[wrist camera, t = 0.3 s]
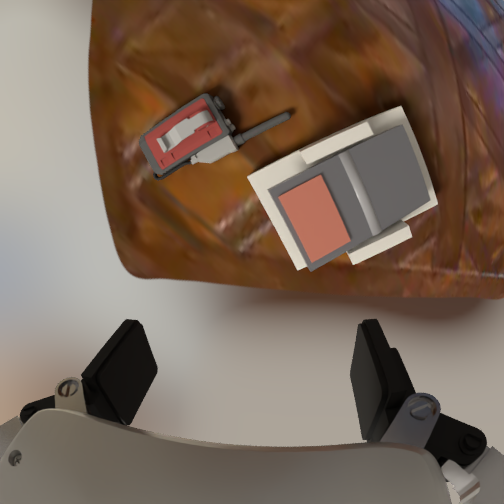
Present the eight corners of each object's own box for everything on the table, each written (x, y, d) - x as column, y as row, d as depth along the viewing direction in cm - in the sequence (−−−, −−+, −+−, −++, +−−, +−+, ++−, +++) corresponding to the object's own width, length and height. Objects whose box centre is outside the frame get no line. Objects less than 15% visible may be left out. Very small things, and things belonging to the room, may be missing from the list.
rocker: (395, 126, 28) (404, 124, 26) (422, 198, 30) (432, 200, 28) (266, 189, 29) (269, 190, 27) (306, 266, 32) (311, 272, 30)
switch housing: (394, 107, 29) (417, 101, 22) (429, 200, 33) (456, 213, 26) (249, 174, 35) (240, 182, 29) (297, 262, 39) (298, 288, 32)
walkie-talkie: (167, 191, 38) (294, 122, 33) (154, 197, 34) (295, 119, 28) (139, 141, 36) (261, 67, 30) (124, 142, 31) (258, 58, 26)
